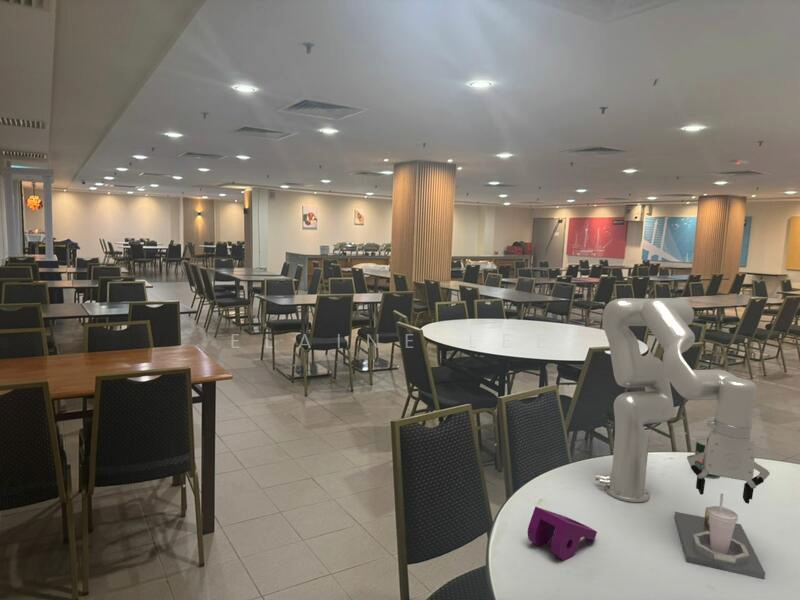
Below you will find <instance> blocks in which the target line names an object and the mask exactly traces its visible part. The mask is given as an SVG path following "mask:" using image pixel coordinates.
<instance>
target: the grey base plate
mask: <svg viewBox="0 0 800 600" xmlns="http://www.w3.org/2000/svg"><path fill="white" fill-rule="evenodd" d="M709 507H710V506H709ZM709 507H705V510H704V511H705V512H704V516H700V515H696V514H690V513H684V512H678V511H674V519H675V520H674V521H675V523H676V528H677V533H678V536H679V539H680V542H681V543H680V544H681V547H682V551H683V554H684V558H685V562H686V563H689V564H694V565H698V566H702V567H703V566H704V567H707V568H713V569H717V570H722V571H725V572H732V573H733V574H734V573H735V574H739V575H745V576H749V577H754V578H758V579H762V580H765V578H766V572H765V570H764V568H763V566H762V564H761V561H759V558H758V556H757V554H756V552H755V550H754V548H753V546H752V543H751V541H750V540H749V538H748V536H747V534H746V532H745V531H744V528H743V526H742V525H741V524H740V523H737V522H736V523H735V527H734V531H733V534H732V538H731V542H730V546H729V550H728V553H727V554H722V553H717V552H714V551H713V550H711V548H710V527H709V514H708V508H709Z"/></svg>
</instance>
